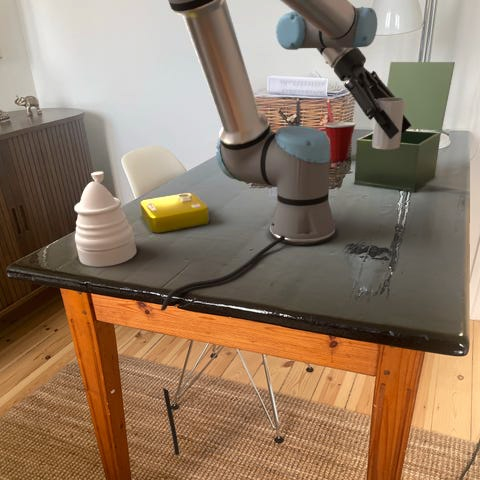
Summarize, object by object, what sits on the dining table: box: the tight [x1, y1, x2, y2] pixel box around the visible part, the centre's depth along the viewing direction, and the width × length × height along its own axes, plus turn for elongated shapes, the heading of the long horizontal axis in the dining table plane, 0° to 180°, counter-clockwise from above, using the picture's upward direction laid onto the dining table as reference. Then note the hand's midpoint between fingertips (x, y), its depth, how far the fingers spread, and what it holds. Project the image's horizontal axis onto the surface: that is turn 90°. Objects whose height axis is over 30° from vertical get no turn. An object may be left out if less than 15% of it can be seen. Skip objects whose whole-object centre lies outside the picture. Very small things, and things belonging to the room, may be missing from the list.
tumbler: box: [372, 97, 405, 149], centre depth 126 cm, size 7×7×11 cm
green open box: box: [353, 129, 442, 193], centre depth 148 cm, size 17×18×13 cm
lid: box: [386, 61, 456, 132], centre depth 147 cm, size 18×18×1 cm
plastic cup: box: [323, 121, 357, 162], centre depth 173 cm, size 11×11×12 cm
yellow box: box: [140, 192, 210, 234], centre depth 132 cm, size 15×15×5 cm
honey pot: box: [74, 171, 138, 268], centre depth 112 cm, size 13×13×18 cm
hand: (400, 132), depth 125 cm, fingers closed on tumbler, 7 cm apart
